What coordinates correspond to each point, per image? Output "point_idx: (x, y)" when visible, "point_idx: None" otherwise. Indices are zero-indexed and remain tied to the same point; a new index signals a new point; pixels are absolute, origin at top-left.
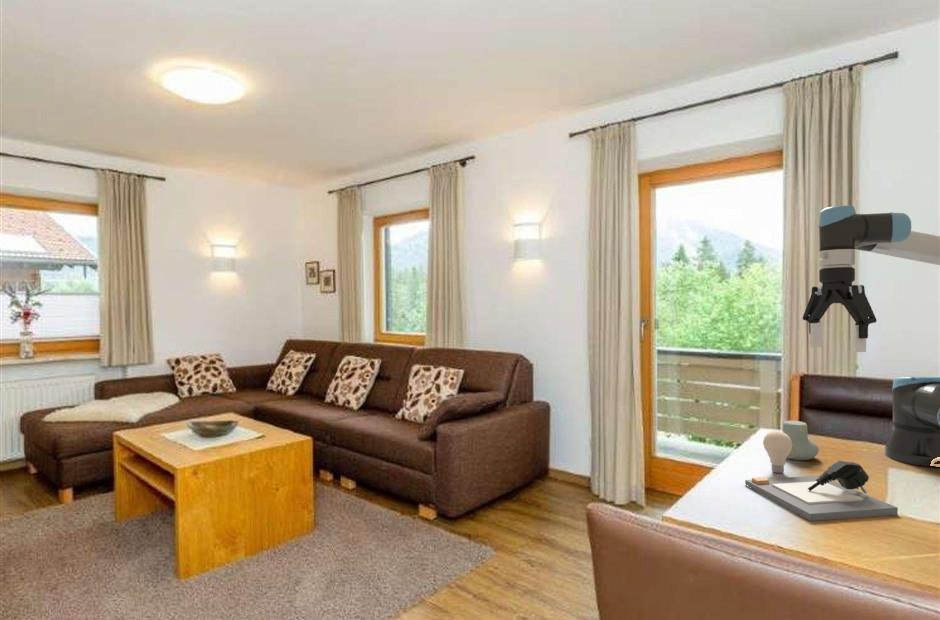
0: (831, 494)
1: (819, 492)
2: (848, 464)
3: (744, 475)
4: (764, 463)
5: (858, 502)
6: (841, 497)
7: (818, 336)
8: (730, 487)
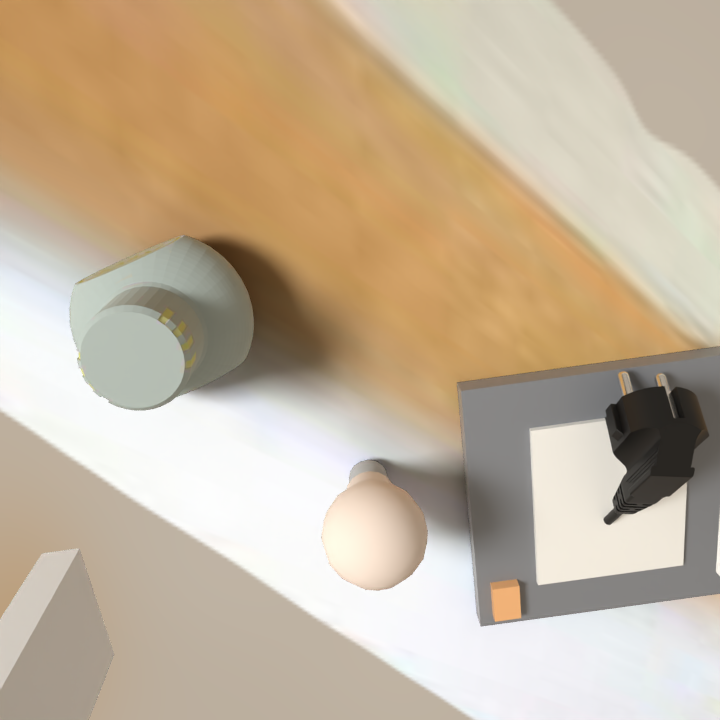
0: None
1: None
2: (694, 470)
3: None
4: (251, 458)
5: None
6: None
7: (34, 703)
8: (480, 650)
